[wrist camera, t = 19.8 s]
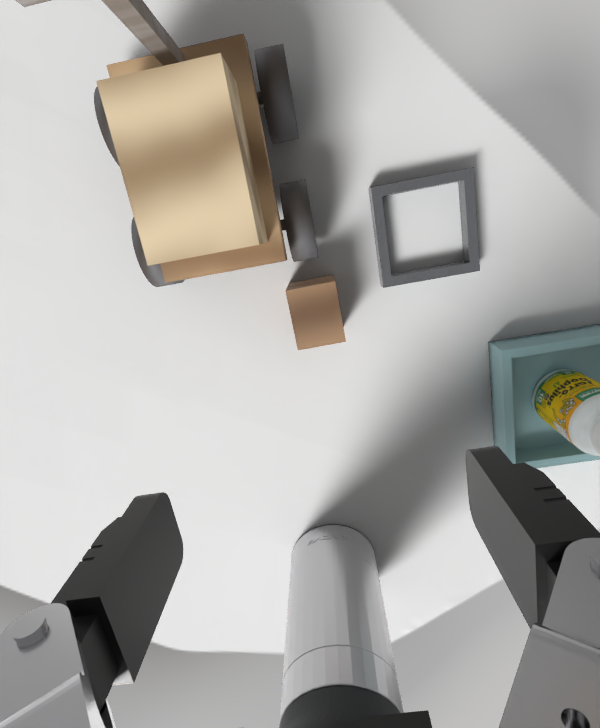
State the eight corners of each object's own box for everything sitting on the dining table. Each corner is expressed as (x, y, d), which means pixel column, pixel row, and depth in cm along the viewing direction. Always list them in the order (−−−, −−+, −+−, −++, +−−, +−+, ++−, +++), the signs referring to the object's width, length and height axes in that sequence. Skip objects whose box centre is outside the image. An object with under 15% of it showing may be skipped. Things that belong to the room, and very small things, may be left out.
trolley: (318, 255, 39) (320, 281, 20) (170, 282, 40) (46, 330, 21) (286, 61, 34) (252, -131, 16) (121, 98, 35) (-88, -41, 17)
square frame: (473, 268, 39) (479, 270, 37) (380, 285, 39) (383, 287, 38) (467, 169, 36) (473, 167, 35) (368, 188, 37) (370, 187, 35)
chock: (342, 328, 41) (345, 341, 36) (300, 335, 41) (297, 350, 36) (332, 274, 39) (335, 281, 34) (289, 283, 40) (285, 290, 35)
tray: (619, 438, 43) (641, 453, 40) (494, 456, 44) (507, 472, 41) (624, 320, 39) (648, 327, 37) (488, 341, 40) (501, 350, 38)
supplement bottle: (550, 431, 42) (615, 487, 33) (518, 392, 41) (576, 439, 32) (600, 396, 41) (681, 445, 32) (568, 355, 40) (643, 394, 31)
